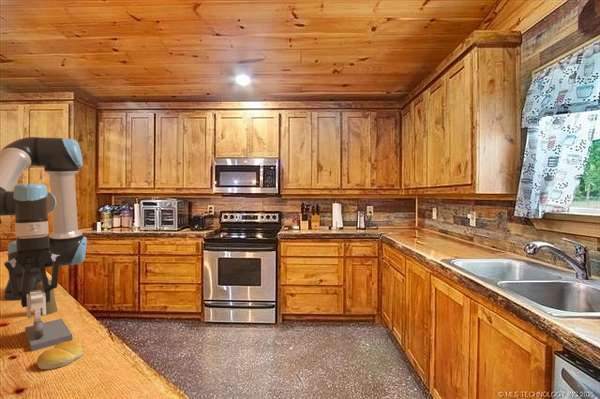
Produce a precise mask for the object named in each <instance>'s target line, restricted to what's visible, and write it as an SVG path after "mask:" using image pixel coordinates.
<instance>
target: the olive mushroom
mask: <svg viewBox="0 0 600 399" xmlns="http://www.w3.org/2000/svg"><path fill="white" fill-rule="evenodd" d="M48 283H49V285H51V279H48ZM36 290H41V291H44V288H43V284H42V281H41V282H39V283H38V284H37V285H36ZM40 311H41V316H44V315H43V314H42V308H40ZM57 311H58V307H57V302H56V296H55V293H54V289H52V290H51V291H50V302H46V315H45V316H47V315H51V314H53V313H56V312H57Z"/></svg>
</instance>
